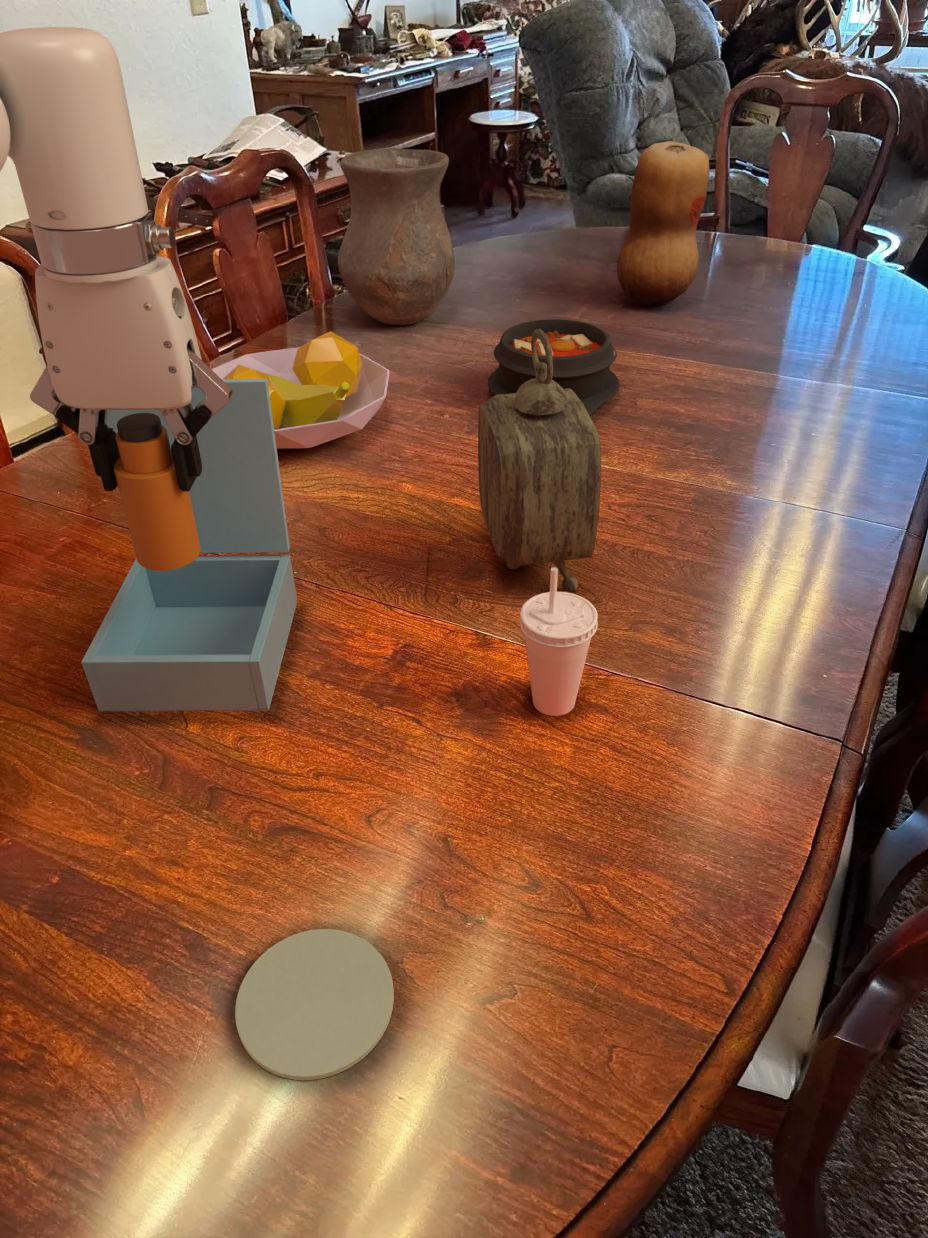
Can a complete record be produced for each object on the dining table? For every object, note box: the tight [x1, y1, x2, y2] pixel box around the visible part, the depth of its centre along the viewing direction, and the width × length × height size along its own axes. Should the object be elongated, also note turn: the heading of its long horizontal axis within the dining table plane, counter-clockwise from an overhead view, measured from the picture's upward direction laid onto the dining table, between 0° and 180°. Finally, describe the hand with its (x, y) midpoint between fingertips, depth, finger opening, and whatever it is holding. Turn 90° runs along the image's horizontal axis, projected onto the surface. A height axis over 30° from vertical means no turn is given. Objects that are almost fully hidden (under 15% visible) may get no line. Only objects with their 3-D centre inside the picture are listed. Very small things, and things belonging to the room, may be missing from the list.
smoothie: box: [518, 566, 599, 717], centre depth 76 cm, size 6×6×14 cm
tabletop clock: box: [477, 329, 602, 593], centre depth 90 cm, size 14×9×25 cm, turn 9°
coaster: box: [234, 928, 395, 1081], centre depth 59 cm, size 10×10×1 cm
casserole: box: [487, 318, 621, 417], centre depth 129 cm, size 25×19×8 cm
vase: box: [337, 147, 456, 326], centre depth 149 cm, size 20×19×25 cm
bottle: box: [114, 413, 201, 571], centre depth 74 cm, size 5×5×12 cm
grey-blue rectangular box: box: [80, 554, 298, 712], centre depth 84 cm, size 16×15×6 cm
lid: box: [106, 379, 291, 554], centre depth 85 cm, size 17×15×5 cm
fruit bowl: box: [210, 330, 391, 450], centre depth 120 cm, size 28×27×11 cm
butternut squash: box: [616, 140, 710, 306], centre depth 153 cm, size 14×13×25 cm
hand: (152, 480), depth 73 cm, fingers closed on bottle, 5 cm apart
